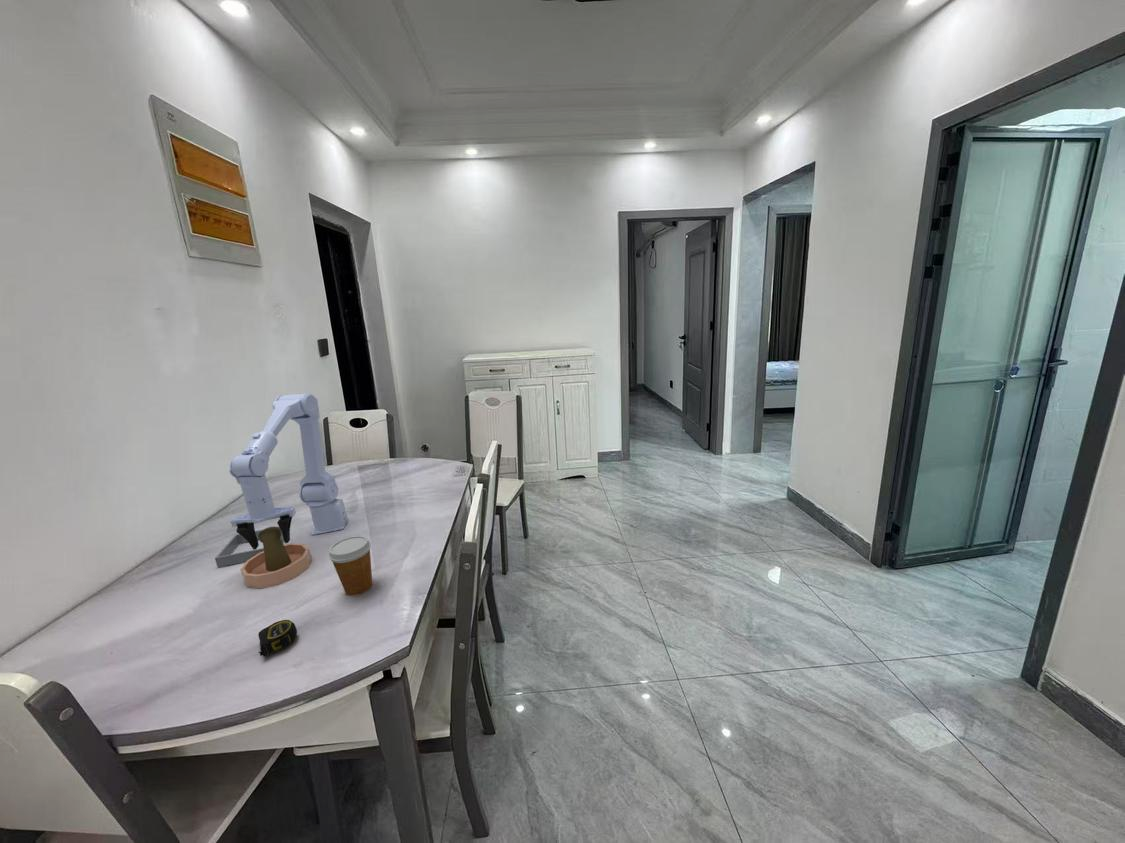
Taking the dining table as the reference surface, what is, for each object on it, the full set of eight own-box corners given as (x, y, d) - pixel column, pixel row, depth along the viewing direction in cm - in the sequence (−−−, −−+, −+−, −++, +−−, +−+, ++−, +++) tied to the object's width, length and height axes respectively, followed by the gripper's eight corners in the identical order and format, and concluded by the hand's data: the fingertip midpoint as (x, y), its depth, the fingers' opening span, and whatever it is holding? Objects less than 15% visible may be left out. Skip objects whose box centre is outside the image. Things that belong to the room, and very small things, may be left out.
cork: (280, 571, 122) (270, 534, 119) (260, 571, 123) (249, 535, 120) (296, 558, 128) (286, 523, 125) (276, 558, 129) (266, 523, 126)
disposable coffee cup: (338, 583, 116) (328, 541, 113) (378, 572, 119) (369, 531, 116) (337, 605, 107) (325, 560, 104) (380, 592, 111) (370, 548, 108)
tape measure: (261, 642, 97) (256, 628, 96) (297, 628, 101) (293, 613, 100) (261, 662, 92) (256, 646, 91) (300, 645, 95) (295, 630, 94)
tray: (288, 533, 145) (285, 525, 144) (273, 556, 132) (271, 547, 131) (237, 543, 142) (235, 534, 141) (217, 567, 129) (214, 558, 128)
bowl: (316, 549, 134) (314, 538, 133) (302, 579, 119) (299, 567, 118) (257, 561, 130) (254, 550, 129) (235, 593, 115) (231, 581, 114)
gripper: (220, 510, 113) (235, 558, 117) (284, 498, 117) (297, 545, 121) (231, 499, 120) (245, 544, 124) (292, 488, 123) (304, 533, 127)
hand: (271, 544), depth 123 cm, fingers open, 7 cm apart
